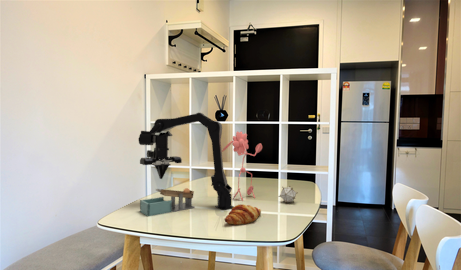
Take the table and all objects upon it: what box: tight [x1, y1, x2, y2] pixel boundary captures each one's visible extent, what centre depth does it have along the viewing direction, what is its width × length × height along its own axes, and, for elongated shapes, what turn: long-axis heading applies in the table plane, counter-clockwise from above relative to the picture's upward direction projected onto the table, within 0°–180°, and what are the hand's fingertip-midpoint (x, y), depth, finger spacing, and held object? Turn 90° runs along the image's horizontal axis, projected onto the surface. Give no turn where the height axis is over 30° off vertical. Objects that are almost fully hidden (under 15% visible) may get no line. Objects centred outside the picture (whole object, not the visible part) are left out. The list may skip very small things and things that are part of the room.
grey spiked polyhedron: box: [278, 185, 299, 204], centre depth 147 cm, size 9×8×10 cm
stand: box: [170, 194, 196, 213], centre depth 136 cm, size 9×11×7 cm
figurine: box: [221, 131, 263, 202], centre depth 158 cm, size 15×26×35 cm, turn 133°
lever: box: [155, 188, 195, 199], centre depth 139 cm, size 16×14×3 cm
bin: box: [139, 196, 172, 217], centre depth 129 cm, size 9×11×5 cm
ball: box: [182, 187, 190, 193], centre depth 138 cm, size 3×3×3 cm
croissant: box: [224, 204, 262, 226], centre depth 119 cm, size 21×10×8 cm, turn 138°
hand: (160, 178), depth 141 cm, fingers closed
